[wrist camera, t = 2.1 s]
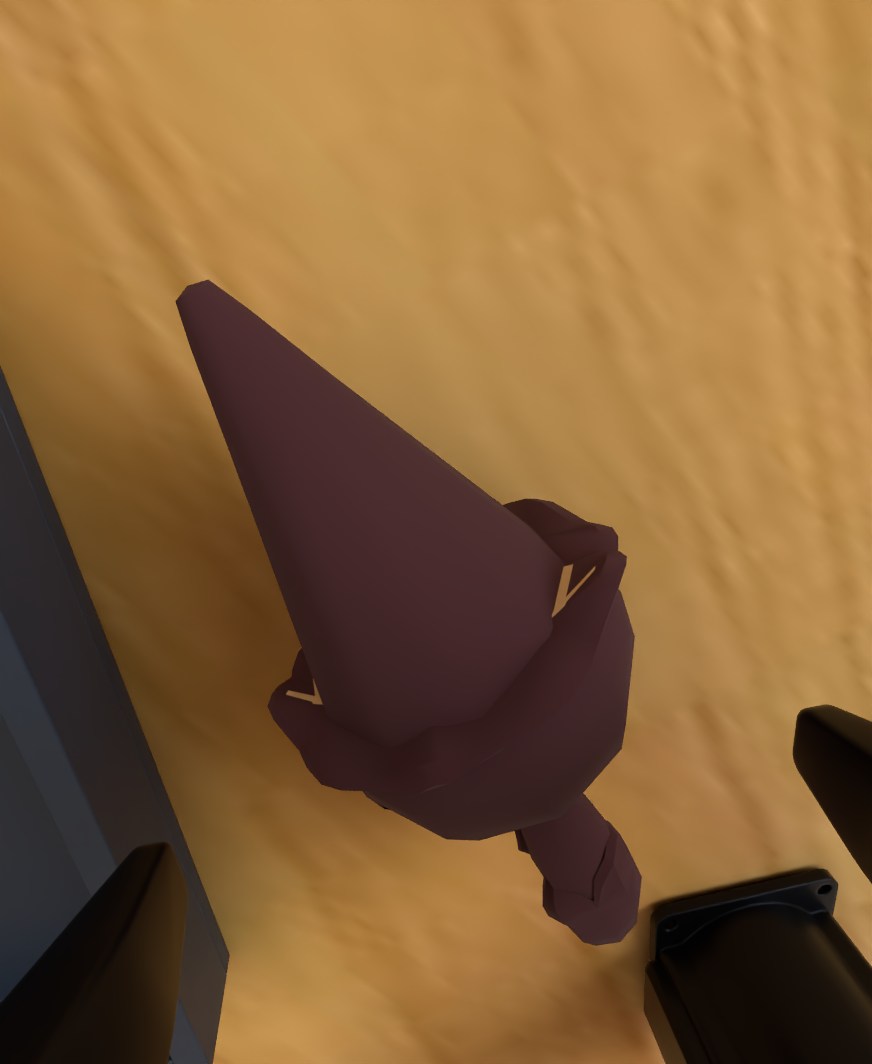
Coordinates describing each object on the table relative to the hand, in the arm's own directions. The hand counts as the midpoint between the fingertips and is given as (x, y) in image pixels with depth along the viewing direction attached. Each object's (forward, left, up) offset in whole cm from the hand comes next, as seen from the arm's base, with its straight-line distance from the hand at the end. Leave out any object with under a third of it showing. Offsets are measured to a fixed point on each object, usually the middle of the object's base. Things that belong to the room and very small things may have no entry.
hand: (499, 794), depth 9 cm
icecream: (0, 0, -7) cm, 7 cm away
